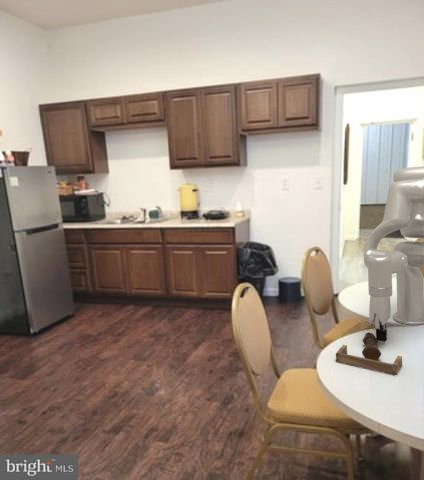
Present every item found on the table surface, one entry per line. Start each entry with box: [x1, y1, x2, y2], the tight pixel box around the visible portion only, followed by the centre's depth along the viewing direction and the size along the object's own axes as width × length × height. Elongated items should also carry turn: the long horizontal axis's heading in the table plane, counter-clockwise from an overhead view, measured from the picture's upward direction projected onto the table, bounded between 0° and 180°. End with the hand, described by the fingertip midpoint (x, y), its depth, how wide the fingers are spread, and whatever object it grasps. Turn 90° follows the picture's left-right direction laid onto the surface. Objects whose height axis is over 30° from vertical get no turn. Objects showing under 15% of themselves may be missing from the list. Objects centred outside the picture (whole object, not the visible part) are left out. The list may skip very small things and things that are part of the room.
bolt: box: [361, 332, 382, 361], centre depth 129 cm, size 6×5×15 cm
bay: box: [335, 344, 403, 376], centre depth 121 cm, size 7×18×3 cm, turn 52°
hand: (381, 340), depth 133 cm, fingers closed
